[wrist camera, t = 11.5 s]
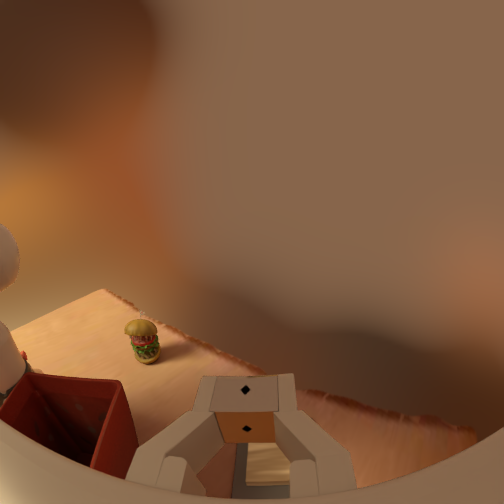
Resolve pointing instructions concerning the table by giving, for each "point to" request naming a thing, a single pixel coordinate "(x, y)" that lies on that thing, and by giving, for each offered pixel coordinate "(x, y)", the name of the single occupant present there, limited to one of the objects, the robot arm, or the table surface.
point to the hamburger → (143, 340)
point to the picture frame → (266, 465)
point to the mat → (252, 492)
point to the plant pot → (75, 419)
